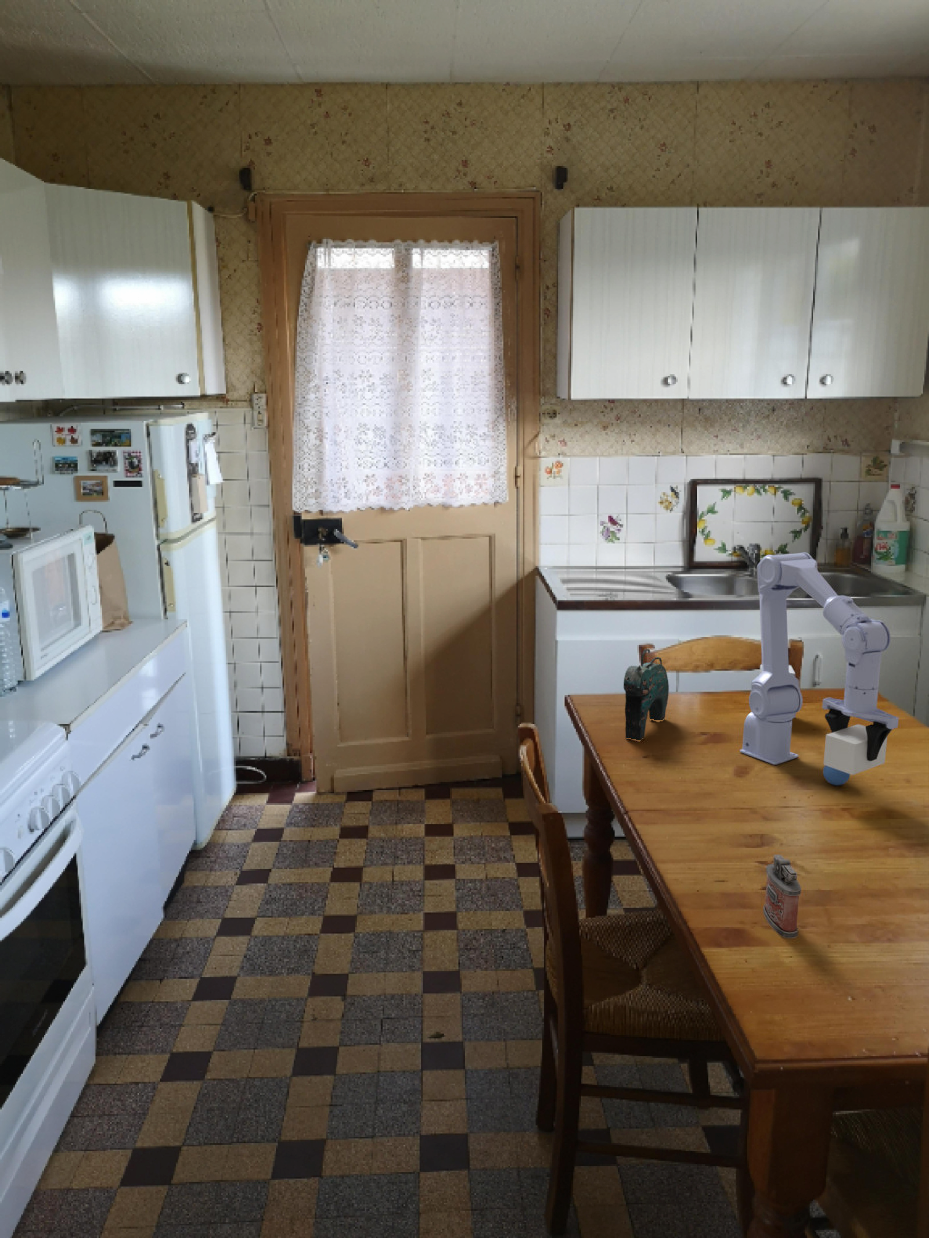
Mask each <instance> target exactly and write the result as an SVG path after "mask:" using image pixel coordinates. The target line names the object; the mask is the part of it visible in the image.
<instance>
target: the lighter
mask: <svg viewBox="0 0 929 1238" xmlns="http://www.w3.org/2000/svg"><path fill="white" fill-rule="evenodd" d="M765 867H766V868H765V869H766V871H765V873H766V885H765V886H766V888H765V900H764V905H763V907H762V908H763V910H762V911H763V912H762V913H763V915H764V918H765V920H766V921H767V923H768V924H769V926H770V927H771V928H772V929H773V931H775V932H776V933H777V934H778V935H779V936H780V937H782V938H785V939H794V938H797V937H798V932H799V929H798V926H797V925H798V924H797V923H798V915H799V914H798V912H799V900H800V899H799V898H800V895H801V892H802V888H801V884H800V883H799V881H798V880H797V879H798V873H797V872H796V870H794V868H793V867H792V866H791V862H790V859H789V858H784V857H783V855H781V854H774V855H773V863H770V864H768V865H766V866H765Z"/></svg>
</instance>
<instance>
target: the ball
mask: <svg viewBox="0 0 929 1238" xmlns="http://www.w3.org/2000/svg"><path fill="white" fill-rule="evenodd" d="M823 766H824V767H823V769H822V774H823V777H824V779H825V780H826V781H827V782H828V783H829V784H831V785H833V786H842V785H844V784H846V783H847V782H848V781H849V779H850V776H851V774H848V773H846V772H843V771H840V770H837V769H834V768H832V767H829V766H826V765H823Z"/></svg>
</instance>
